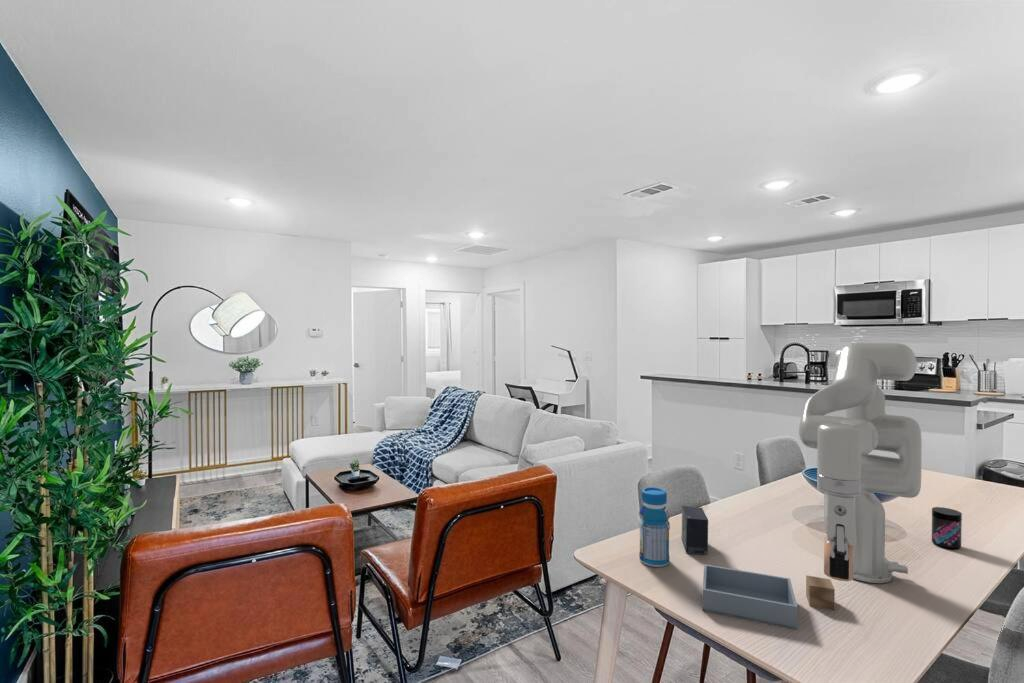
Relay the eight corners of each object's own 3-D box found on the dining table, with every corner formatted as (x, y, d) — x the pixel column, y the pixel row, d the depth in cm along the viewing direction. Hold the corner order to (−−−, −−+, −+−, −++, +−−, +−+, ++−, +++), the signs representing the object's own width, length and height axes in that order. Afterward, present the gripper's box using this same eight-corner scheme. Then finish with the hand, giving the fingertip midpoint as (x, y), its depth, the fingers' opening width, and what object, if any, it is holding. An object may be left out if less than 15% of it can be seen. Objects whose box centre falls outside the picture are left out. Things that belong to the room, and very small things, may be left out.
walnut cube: (830, 599, 119) (830, 579, 119) (834, 610, 114) (834, 589, 114) (806, 595, 121) (806, 575, 120) (809, 606, 116) (809, 585, 116)
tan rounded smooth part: (851, 572, 103) (851, 539, 103) (854, 583, 99) (854, 548, 98) (823, 567, 105) (823, 534, 105) (824, 577, 101) (824, 543, 101)
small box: (709, 555, 142) (709, 519, 142) (685, 553, 143) (685, 518, 143) (702, 540, 153) (702, 506, 152) (680, 538, 154) (680, 505, 154)
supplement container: (925, 542, 149) (926, 508, 149) (941, 539, 151) (941, 505, 151) (951, 552, 143) (952, 516, 142) (967, 548, 145) (967, 513, 144)
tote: (789, 598, 119) (789, 578, 119) (797, 629, 107) (797, 607, 107) (704, 583, 127) (704, 564, 126) (702, 610, 114) (702, 589, 114)
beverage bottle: (652, 570, 133) (652, 497, 133) (632, 557, 141) (632, 488, 141) (676, 564, 137) (676, 492, 137) (655, 552, 145) (655, 484, 144)
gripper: (865, 499, 92) (865, 595, 93) (856, 475, 107) (856, 558, 107) (818, 493, 96) (818, 585, 96) (815, 470, 111) (815, 551, 111)
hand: (838, 570), depth 102 cm, fingers closed on tan rounded smooth part, 5 cm apart
